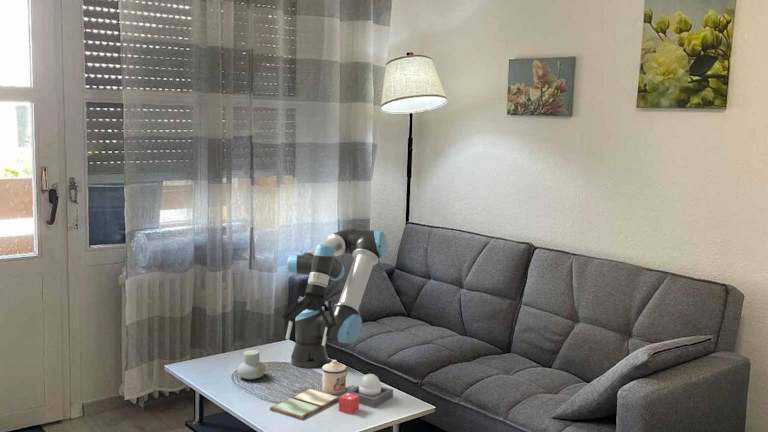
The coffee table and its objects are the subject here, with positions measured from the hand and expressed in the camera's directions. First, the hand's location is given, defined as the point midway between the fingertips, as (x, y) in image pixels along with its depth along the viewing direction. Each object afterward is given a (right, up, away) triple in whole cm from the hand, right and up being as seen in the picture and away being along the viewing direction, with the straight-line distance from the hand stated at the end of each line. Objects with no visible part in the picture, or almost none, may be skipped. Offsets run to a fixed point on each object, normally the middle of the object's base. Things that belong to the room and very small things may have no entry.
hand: (305, 342), depth 269 cm
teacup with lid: (+11, -19, +7) cm, 23 cm away
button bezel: (+23, -20, -1) cm, 31 cm away
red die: (+16, -22, -12) cm, 29 cm away
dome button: (+24, -18, -1) cm, 30 cm away
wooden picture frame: (+1, -21, -8) cm, 22 cm away
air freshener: (-23, -17, +18) cm, 33 cm away
